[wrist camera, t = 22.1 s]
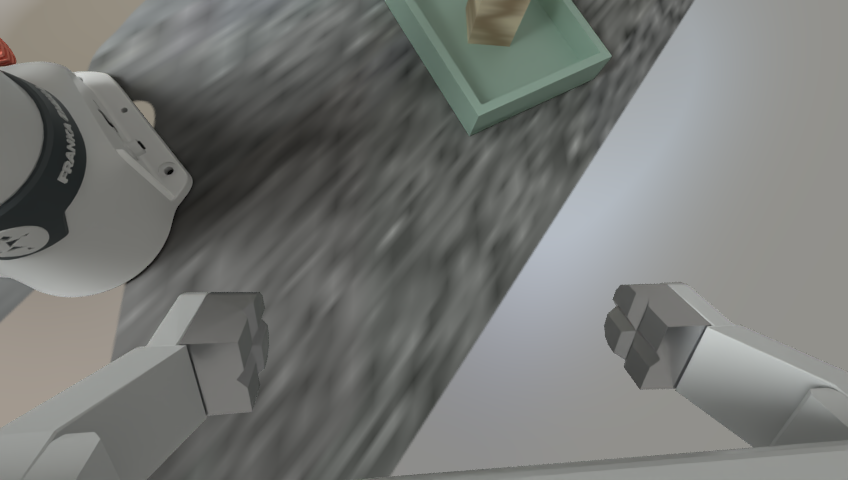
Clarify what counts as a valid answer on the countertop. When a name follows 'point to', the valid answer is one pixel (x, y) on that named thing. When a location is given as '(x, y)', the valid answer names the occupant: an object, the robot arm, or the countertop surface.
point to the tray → (501, 57)
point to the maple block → (494, 21)
